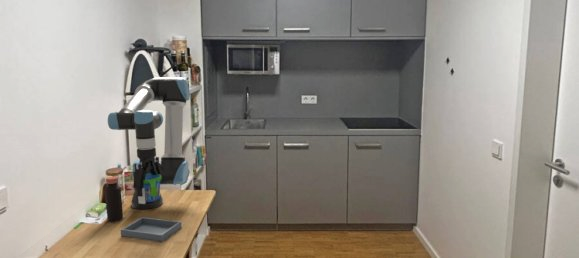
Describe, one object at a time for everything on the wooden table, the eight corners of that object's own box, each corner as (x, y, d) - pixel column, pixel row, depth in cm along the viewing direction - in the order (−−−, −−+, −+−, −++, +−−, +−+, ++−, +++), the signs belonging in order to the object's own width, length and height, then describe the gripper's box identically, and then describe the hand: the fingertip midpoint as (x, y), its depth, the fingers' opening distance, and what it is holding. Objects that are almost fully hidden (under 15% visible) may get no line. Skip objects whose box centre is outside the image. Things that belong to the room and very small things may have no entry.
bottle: (113, 216, 212) (109, 175, 209) (126, 217, 211) (122, 176, 208) (104, 221, 206) (100, 179, 202) (117, 222, 205) (114, 180, 201)
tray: (142, 223, 204) (142, 217, 203) (181, 228, 198) (181, 221, 197) (121, 236, 189) (120, 229, 189) (162, 242, 184) (162, 235, 183)
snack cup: (134, 196, 196) (132, 173, 194) (159, 192, 200) (157, 170, 198) (139, 207, 182) (137, 183, 180) (166, 203, 186) (164, 179, 184)
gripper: (154, 141, 199) (157, 190, 203) (120, 153, 177) (125, 207, 181) (169, 142, 196) (172, 191, 200) (137, 154, 175) (141, 209, 179)
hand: (149, 199), depth 191 cm, fingers closed on snack cup, 10 cm apart
